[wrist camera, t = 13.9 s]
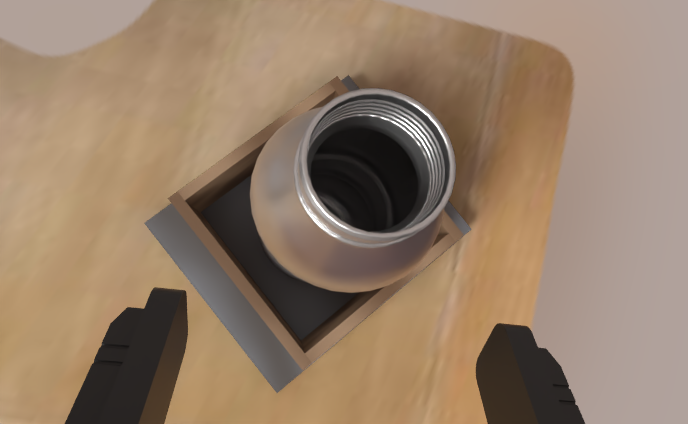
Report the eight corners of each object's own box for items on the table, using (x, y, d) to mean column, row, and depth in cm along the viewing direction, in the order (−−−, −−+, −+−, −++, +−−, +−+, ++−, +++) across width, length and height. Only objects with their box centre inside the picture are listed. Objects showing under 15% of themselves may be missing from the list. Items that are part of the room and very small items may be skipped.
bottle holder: (277, 388, 31) (276, 416, 25) (149, 225, 31) (117, 212, 25) (464, 230, 33) (505, 221, 27) (346, 82, 34) (360, 39, 28)
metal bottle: (283, 162, 31) (296, -20, 11) (381, 204, 32) (552, 98, 12) (242, 257, 30) (179, 235, 10) (344, 298, 31) (464, 350, 11)
